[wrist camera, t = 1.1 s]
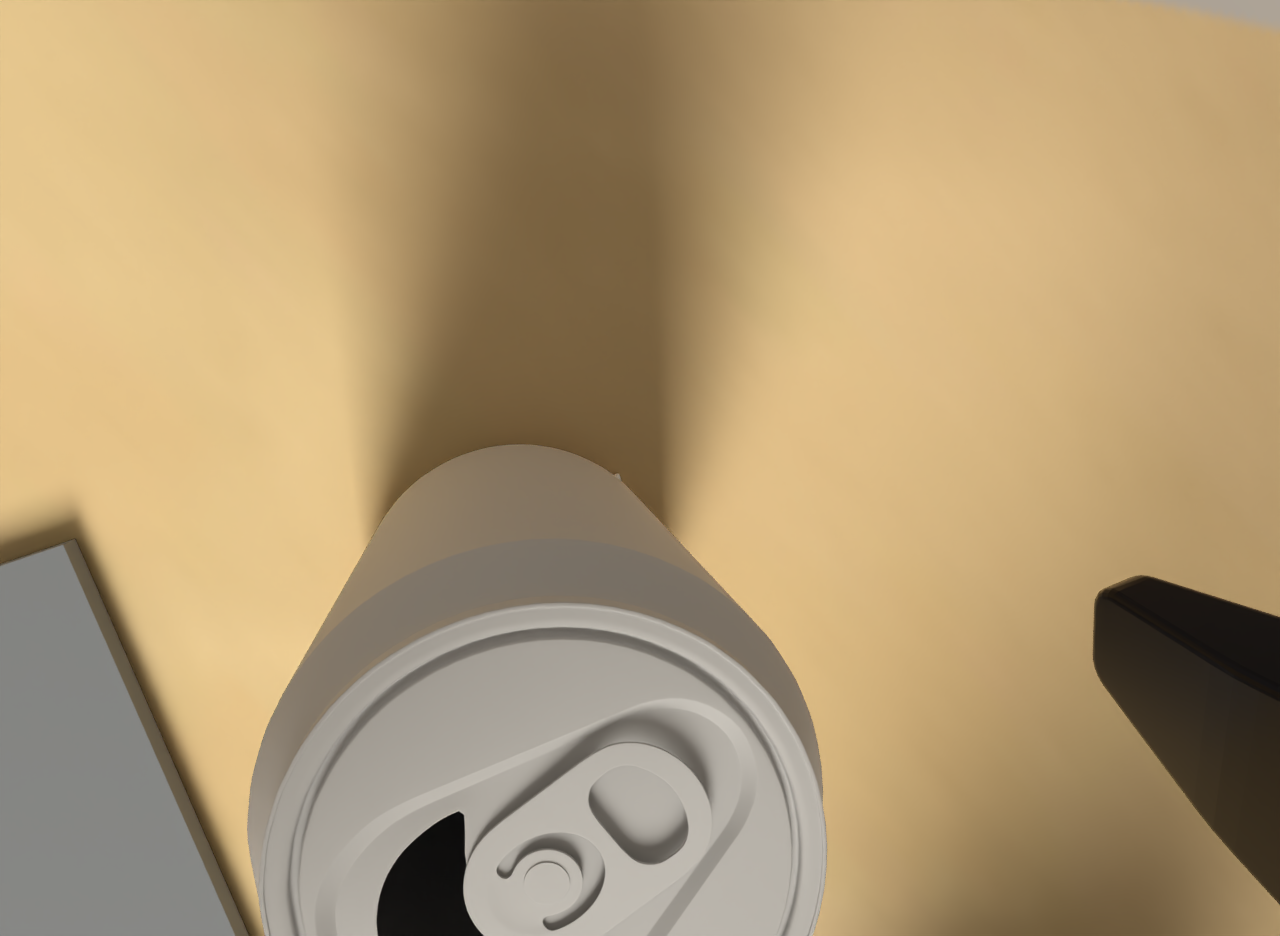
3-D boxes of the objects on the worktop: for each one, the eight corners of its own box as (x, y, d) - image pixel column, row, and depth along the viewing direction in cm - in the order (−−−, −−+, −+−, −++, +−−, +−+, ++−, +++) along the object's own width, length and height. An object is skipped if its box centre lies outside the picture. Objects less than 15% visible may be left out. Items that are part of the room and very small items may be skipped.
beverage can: (299, 568, 21) (58, 866, 9) (544, 376, 21) (613, 430, 10) (494, 789, 22) (499, 1300, 10) (724, 605, 22) (982, 905, 11)
